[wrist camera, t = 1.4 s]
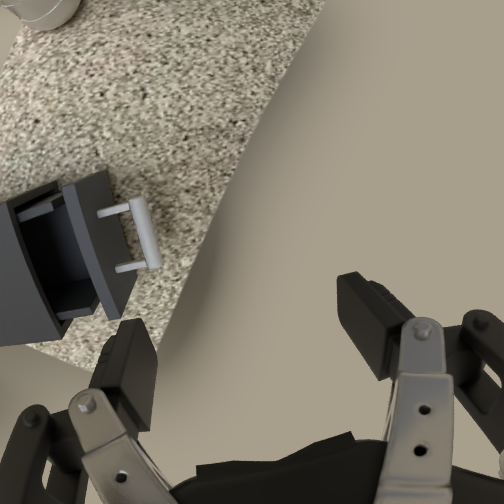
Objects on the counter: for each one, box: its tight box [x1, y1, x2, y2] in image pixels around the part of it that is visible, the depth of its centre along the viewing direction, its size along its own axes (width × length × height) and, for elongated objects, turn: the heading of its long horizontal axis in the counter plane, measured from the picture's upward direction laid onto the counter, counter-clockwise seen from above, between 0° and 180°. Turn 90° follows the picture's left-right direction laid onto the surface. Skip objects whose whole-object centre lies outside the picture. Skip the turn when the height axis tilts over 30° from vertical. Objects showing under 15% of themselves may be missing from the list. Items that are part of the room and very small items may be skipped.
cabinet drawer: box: [14, 170, 164, 321], centre depth 24 cm, size 17×11×8 cm
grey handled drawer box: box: [0, 181, 74, 346], centre depth 23 cm, size 14×13×10 cm
